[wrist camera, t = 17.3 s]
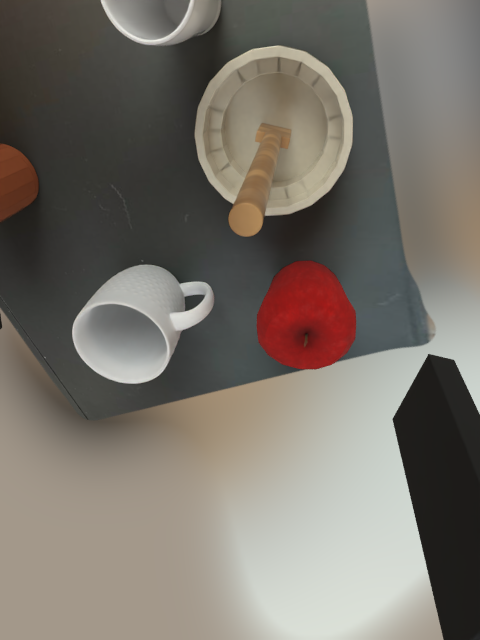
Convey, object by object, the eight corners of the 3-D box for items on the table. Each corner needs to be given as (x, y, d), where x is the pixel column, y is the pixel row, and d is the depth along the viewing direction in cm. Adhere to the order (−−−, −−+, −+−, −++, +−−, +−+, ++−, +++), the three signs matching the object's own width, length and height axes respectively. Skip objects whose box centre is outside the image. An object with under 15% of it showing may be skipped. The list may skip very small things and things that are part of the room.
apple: (254, 306, 58) (241, 371, 46) (278, 236, 52) (270, 290, 41) (330, 329, 58) (336, 399, 47) (362, 262, 52) (377, 323, 41)
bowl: (219, 30, 42) (207, 28, 37) (368, 65, 42) (376, 68, 37) (198, 181, 50) (186, 197, 45) (323, 210, 50) (325, 229, 45)
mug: (208, 234, 53) (182, 284, 42) (234, 310, 58) (218, 372, 47) (101, 260, 57) (52, 312, 46) (134, 329, 62) (98, 390, 51)
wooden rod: (258, 136, 46) (212, 229, 23) (262, 118, 45) (218, 196, 22) (288, 143, 46) (271, 243, 23) (292, 125, 45) (279, 210, 22)
